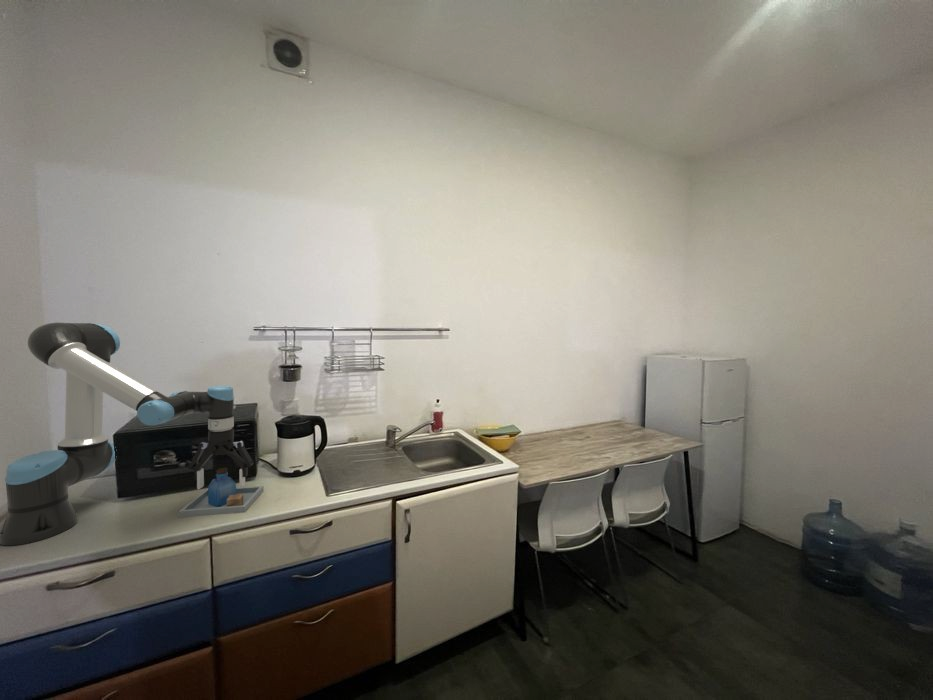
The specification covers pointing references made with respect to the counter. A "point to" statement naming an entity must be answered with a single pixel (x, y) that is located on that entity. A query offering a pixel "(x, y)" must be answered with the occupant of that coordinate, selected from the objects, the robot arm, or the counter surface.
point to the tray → (204, 508)
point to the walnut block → (235, 500)
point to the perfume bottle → (221, 488)
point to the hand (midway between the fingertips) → (221, 486)
